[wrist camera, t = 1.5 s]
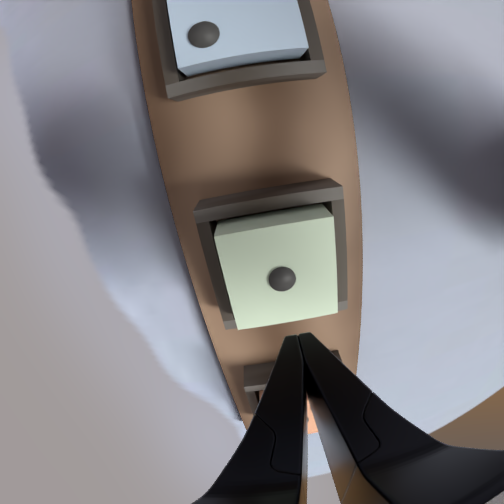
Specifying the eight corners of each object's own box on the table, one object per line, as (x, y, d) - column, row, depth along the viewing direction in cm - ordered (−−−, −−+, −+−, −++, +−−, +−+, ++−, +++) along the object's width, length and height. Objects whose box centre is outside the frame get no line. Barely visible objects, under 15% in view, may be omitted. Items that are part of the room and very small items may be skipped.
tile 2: (278, -26, 8) (283, -47, 7) (299, 58, 10) (309, 46, 9) (173, -9, 9) (162, -27, 7) (187, 76, 11) (177, 68, 9)
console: (304, -50, 9) (314, -75, 6) (348, 404, 24) (355, 428, 21) (134, -22, 9) (116, -42, 7) (246, 421, 24) (246, 446, 22)
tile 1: (321, 203, 13) (334, 217, 12) (328, 291, 15) (338, 314, 14) (218, 220, 14) (213, 237, 12) (238, 306, 16) (237, 331, 14)
